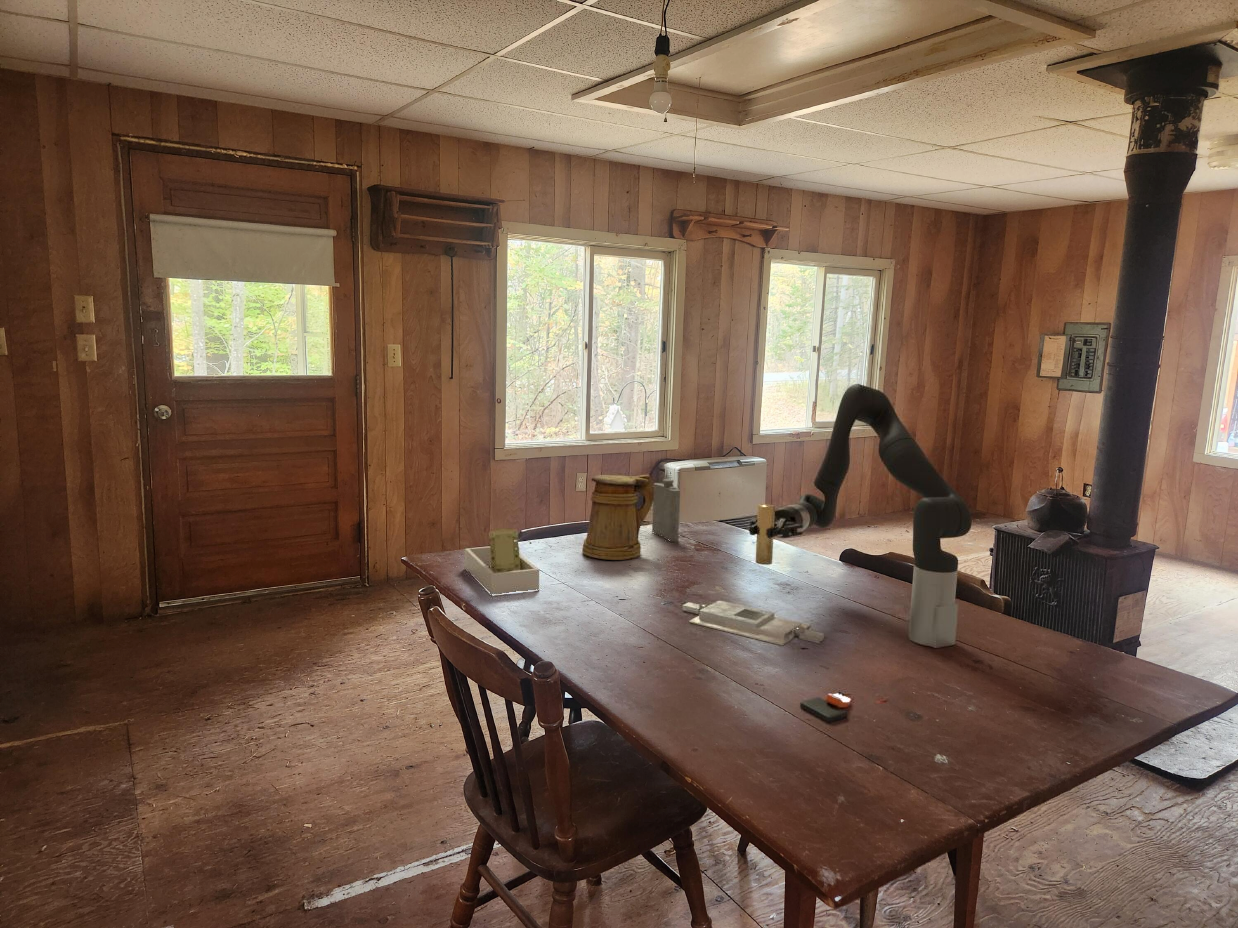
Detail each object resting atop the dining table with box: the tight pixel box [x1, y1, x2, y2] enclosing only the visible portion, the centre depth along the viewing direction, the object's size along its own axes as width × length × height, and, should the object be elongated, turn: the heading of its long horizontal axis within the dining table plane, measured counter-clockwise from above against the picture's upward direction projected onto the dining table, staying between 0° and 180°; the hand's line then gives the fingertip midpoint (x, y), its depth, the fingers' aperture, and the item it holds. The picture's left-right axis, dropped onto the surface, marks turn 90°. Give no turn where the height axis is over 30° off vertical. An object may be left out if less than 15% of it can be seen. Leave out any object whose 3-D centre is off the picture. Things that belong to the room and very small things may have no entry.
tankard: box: [581, 473, 654, 561], centre depth 254 cm, size 18×24×25 cm
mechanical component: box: [488, 528, 521, 573], centre depth 222 cm, size 8×17×20 cm, turn 8°
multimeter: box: [799, 691, 891, 724], centre depth 152 cm, size 18×12×3 cm, turn 117°
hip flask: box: [651, 478, 681, 542], centre depth 278 cm, size 16×4×20 cm, turn 24°
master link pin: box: [755, 503, 776, 566], centre depth 195 cm, size 4×4×14 cm
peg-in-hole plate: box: [682, 600, 825, 647], centre depth 192 cm, size 36×16×2 cm, turn 55°
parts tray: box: [464, 546, 540, 595], centre depth 224 cm, size 28×13×6 cm, turn 25°
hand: (760, 532), depth 193 cm, fingers closed on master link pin, 4 cm apart
